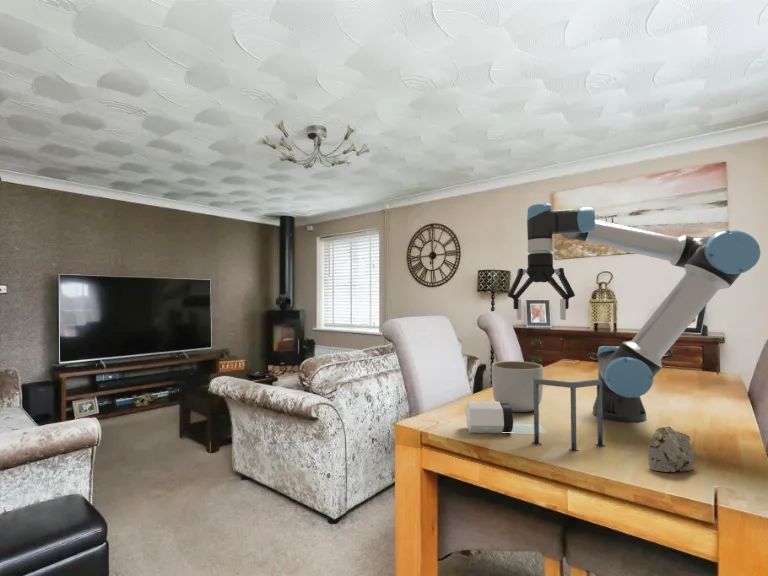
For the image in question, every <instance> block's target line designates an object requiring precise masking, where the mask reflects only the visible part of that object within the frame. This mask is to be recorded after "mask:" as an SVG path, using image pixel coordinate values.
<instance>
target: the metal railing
mask: <svg viewBox="0 0 768 576" xmlns="http://www.w3.org/2000/svg"><path fill="white" fill-rule="evenodd" d="M533 382H534V410H533V424H534V433H533V436H534V437H533V442H531V445H533V446H535V447H536V446H538V447H540V446H541V447H542V445H543V444H542V443H541V442H540V433H539V424H540V421H539V420H540V414H539V413H540V412H539V410H540V408H539V407H540V405H539V394H538V384H540V385H543V386H550V387H551V386H552V387H559V388H562V387H563V388H567V389H568V388H570V444H571V446H570V447H571V448H569V449H568V451H569V452H580V450H579V449H577V447H578V446H577V444H578V443H577V392H576V390H577V388H587V387H595V386H596V397H597V416H596V420H597V421H596V422H597V427H596V428H597V429H596V430H597V432H596V433H597V443H595V444H594V446H596V447H597V448H606V445H605V444H604V442H603V441H604V435H603V434H604V433H603V432H604V431H603V429H604V427H603V426H604V425H603V424H604V423H603V418H602V381H601V380H598V379H597V378H596V379H587V380H580V381H564V380H555V379H545V378H543V379H534V380H533Z"/></svg>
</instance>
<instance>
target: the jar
mask: <svg viewBox="0 0 768 576" xmlns="http://www.w3.org/2000/svg"><path fill="white" fill-rule="evenodd" d="M465 412H466V413H465V414H466V426H467V430H468V433H470V434H476V433H477V434H502V432H512V429H513V424H514V414H513V411H512V409H511V406H510V404H509V403H500V402H496V401H489V400H487V401H485V400H484V401H473V400H472V401H470V400H469V401H467V403H466V408H465Z"/></svg>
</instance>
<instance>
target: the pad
mask: <svg viewBox="0 0 768 576" xmlns="http://www.w3.org/2000/svg"><path fill="white" fill-rule="evenodd" d="M512 432H515V434H514V435H521V434H522V435H523V434H525V435H528V434H534V423H533V424H531V423H523V424H522V423H513V429H512ZM518 433H519V434H518ZM539 434H548V433H547V431H546V430H545V429H544V427H542V425H541V424H540V423H539Z"/></svg>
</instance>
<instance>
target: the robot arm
mask: <svg viewBox="0 0 768 576" xmlns="http://www.w3.org/2000/svg"><path fill="white" fill-rule="evenodd" d="M526 215H527V217H526V218H527V219H526V227H527V230H526V232H527V234H526V235H527V253H529V254H527V269H525V268H522V267H521V268H518V269H517V274H516V277H515V278H514V281H513V283H512V285H511V287H510V289H509V291H508V293H507V297H508V298H510V299H512V300H513V309H514V310H516V320H518V321H522V299H520V298H521V296H522V295H523V294H524V292H525V291H526V290H527V289H528V288H529V286H531V284H532V283H548V284H549V285H550V286H552V287H553V289H554V290H555V291H556V292H557V293H558V295H559V296H561V298H560V299H559V311H560V312H559V315H560V316H559V318H560V320H562V321H563V320H564V321H567V317H566V316H567V315H566V314H567V310H568V309H569V308H570V307H569V303H570V302H569V301H570V299H571V298H575V296H576V295H575V292H574V290H573V288H572V287H571V284H570V282H569V280H568V279H567V277H566V275H565V269H564V268H563V267H558V268H554V255H553V253H552V252H553V251H554V246H553V245H554V244H553V235H557V234H561V236H562V237H563V238H565V239H568V240H571V241H572V240H576V241H581V242H586V243H591V244H595V245H599V246H604V247H608V248H612V249H616V250H621V251H625V252H629V253H634V254H638V255H641V256H646V257H651V258H655V259H660V260H664V261H666V262H669V263H670V264H671V265H672V266H675V267H679V268H683V269H684V270H685V273H684V275H683V276H682V278H681V279H680V280H679V281H678V283H677V284H676V285H675V286H674V287H673V289H672V290H671V291H670V292H669V294H668V295H667V296H666V297H665V298H664V300H663V301H662V302H661V304H660V305H659V306H658V307H657V308H656V310H654V312H653V313H652V314H651V316H650V317H649V318H648V320H646V322H645V324H644V325H643V326H642V327H641V328H640V329H639V331H638V332H637V333H636V334H635V336H634V337H633V338H632V340H629V341H622V343H620V345H619V346H617V345H616V346H612V345H611V346H610V345H609V346H608V345H607V346H606V345H602V346H599V347H598V348H597V349H598V350H597V354H596V355H597V369H598V370H597V375H598V376H597V378H598V380H601V381H602V420H608V421H613V422H619V423H642V422H645V421H646V420H647V412H646V409H645V406H644V404H643V401H642V399H641V396H644V395H646V394H647V393H648V392H649V391H650V390H651V388H652V386H653V383H654V378H655V377H656V375H657V374H658V373H659V371H661V369H662V368H663V364H662V358H663V357H664V356H665V354H666V353H667V352H668V351H669V350H670V348H671V347H672V346H673V345H674V344H675V343H676V341H677V340H678V339H679V338H680V337H681V336H682V334H683V333H684V332H685V330H687V328H688V327H689V326H690V325H691V323H692V322H693V321H694V320H695V319H696V318H697V317H698V315H699V314H700V313H701V311H702V310H703V309H704V308H705V307H706V306H707V304H708V303H710V301H711V300H712V298H713V297H714V296H715V295H716V294H717V292H719V291H720V290H725V289H730V288H731V286H732V285H733V284H734V283H735V282H736V281H737V279H738V278H739V277H740V276H741V274H743V273H747V272H748V271H750V270H751V269H753V268H754V267H755V266H756V265H757V263H758V262H759V261H760V258H761V248H760V245H759V242H758V241H757V240H756V239H755V237H754V236H752V235H750V234H749V233H747V232H745V231H741V230H735V229H730V230H721V231H717V232H715V233H713V234H712V235H709V236H703V237H702V236H701V237H700V236H699V237H698V236H697V237H696V236H689V235H681V236H679V237H677V236H672V235H669V234H668V235H667V234H662V233H658V232H654V231H648V230H645V229H640V228H634V227H630V226H624V225H621V224H615V223H611V222H606V221H602V220H597V219H596V211H595V209H594V208H593V207H577V208H565V209H553V205H552V204H551V203H536V204H533V205H530V206H529V207H528V209H527V214H526ZM526 274H527V276H528V278H527V279H526V281H525V282H524V283H523V285H521V287H520V288H519V289H518V286H519V285H520V282H521V281H522V278H523V277H524V276H525V275H526ZM554 274H555V275H556V276H558V279H559V280H560V283H561V284H562V286H561V285H560V284H558V282H557V281H556V279H555V278H554V277H553V276H554ZM562 287H563V288H564V289H563V288H562ZM517 289H518V290H517ZM516 291H517V292H516ZM592 414H593V416H595V417H597V396H596V397H595V399H594V402H593V405H592Z"/></svg>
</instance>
